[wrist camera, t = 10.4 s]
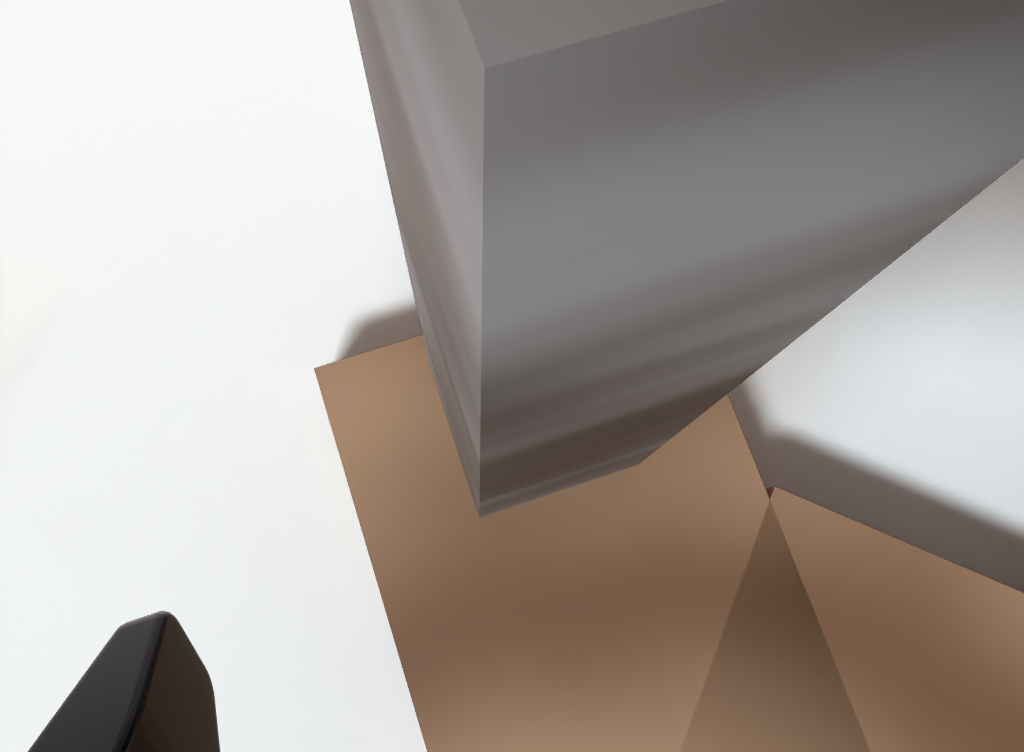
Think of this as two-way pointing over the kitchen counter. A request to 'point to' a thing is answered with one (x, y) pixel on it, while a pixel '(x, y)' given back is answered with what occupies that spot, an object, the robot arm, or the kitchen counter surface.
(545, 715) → the pull board
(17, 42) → the kitchen counter surface
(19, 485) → the kitchen counter surface
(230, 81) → the kitchen counter surface
